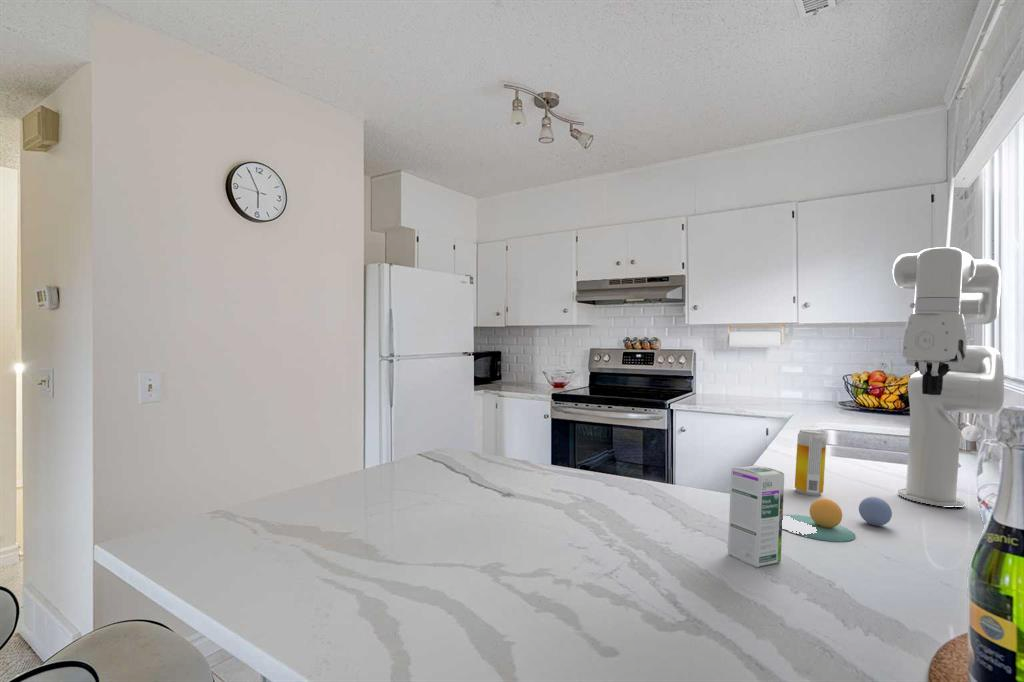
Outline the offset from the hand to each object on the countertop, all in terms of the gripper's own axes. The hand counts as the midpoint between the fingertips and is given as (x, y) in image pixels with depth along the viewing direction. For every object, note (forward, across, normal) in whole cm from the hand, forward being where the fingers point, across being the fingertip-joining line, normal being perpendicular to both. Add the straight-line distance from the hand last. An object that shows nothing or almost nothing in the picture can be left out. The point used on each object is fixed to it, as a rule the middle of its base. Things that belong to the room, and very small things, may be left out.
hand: (931, 394), depth 111 cm
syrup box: (+25, +12, -54) cm, 61 cm away
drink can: (+27, -20, -10) cm, 35 cm away
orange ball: (+23, +1, -28) cm, 36 cm away
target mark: (+26, +2, -31) cm, 40 cm away
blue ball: (+24, +2, -16) cm, 28 cm away
